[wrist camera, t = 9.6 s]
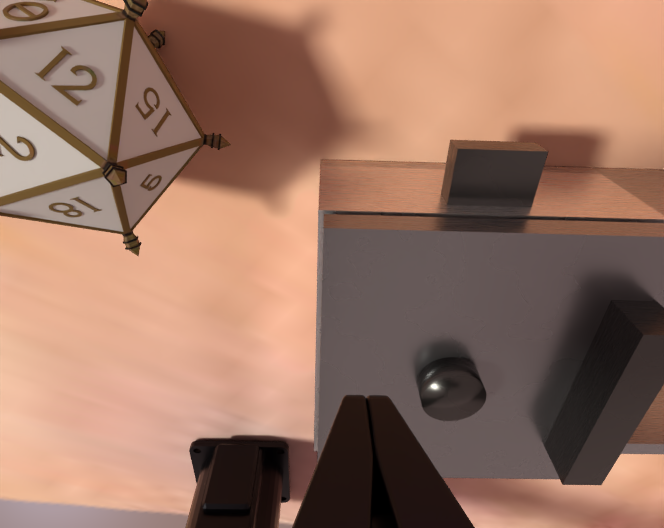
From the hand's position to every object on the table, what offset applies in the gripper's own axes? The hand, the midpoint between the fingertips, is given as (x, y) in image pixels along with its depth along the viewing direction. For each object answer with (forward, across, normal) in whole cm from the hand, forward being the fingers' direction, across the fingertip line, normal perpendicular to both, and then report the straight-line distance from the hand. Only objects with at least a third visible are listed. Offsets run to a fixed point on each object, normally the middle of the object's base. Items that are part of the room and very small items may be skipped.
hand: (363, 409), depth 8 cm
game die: (+13, +9, -3) cm, 16 cm away
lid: (+8, -5, +6) cm, 11 cm away
